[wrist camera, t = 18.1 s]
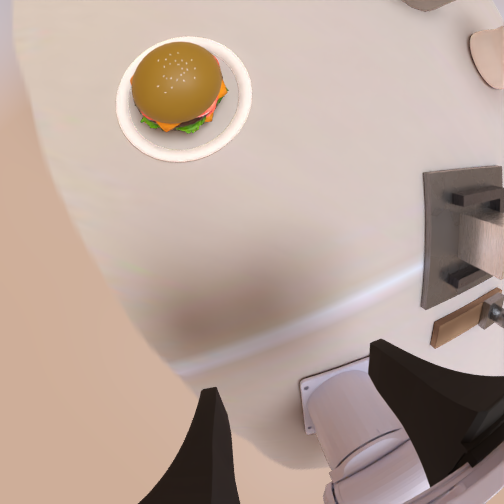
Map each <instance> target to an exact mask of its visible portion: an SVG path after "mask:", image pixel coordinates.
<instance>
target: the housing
mask: <svg viewBox="0 0 504 504" xmlns="http://www.w3.org/2000/svg"><path fill="white" fill-rule="evenodd" d="M458 258H459V259H461V260H463V261H465V262H467V263H469V264H471V265H473V266H475V267H477V268H479V269H481V270H483V271H485V272H487V273H489V274H491V275H493V276H495V277H496V278H498V279H500V280H502V279H503V278H504V213H502V212H499V211H496V210H492V209H489V208H485V207H483V208H479V209H475V210H471V211H467V212H463V213H460V232H459V249H458Z"/></svg>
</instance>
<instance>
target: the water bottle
mask: <svg viewBox="0 0 504 504" xmlns="http://www.w3.org/2000/svg"><path fill="white" fill-rule="evenodd" d="M470 50H471V54H472V58H473V60H474V63H475V65H476V67H477V69H478V71H479V73H480V74H481V76H482V77H483V78H484V80H485V81H486V82H487V83H488V84H489V85H490V86H492V87H493V88H496V89H504V26H501V27H499V28H497V29H491V30H483V31H479V32H476V33H474V34H473V35H472V36H471V39H470Z"/></svg>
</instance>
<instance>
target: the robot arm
mask: <svg viewBox="0 0 504 504" xmlns="http://www.w3.org/2000/svg"><path fill="white" fill-rule="evenodd" d="M306 386H307V387H306ZM300 390H301V398H302V407H303V416H304V425H305V432H306V434H307V435H310V434H313V433H316V436H317V438H318V440H319V443H320V445H321V447H322V450H323V452H324V454H325V457H326V459H327V461H328V464H329V466H330V468H331V470H332V471H331V472H329V474H330V477H331V479H332V482H330V483H329V484H327V485H326V488H325V491H324V495H323V499H324V504H485V503H487V502H488V501H489V500H490V499H491V498H492V497H493V496H494V495H495V494H497V493H498V492H499V491H500V490H501V489H502V488H503V487H504V376H480V375H473V374H467V373H462V372H457V371H453V370H450V369H447V368H443V367H440V366H438V365H435V364H432V363H430V362H427V361H425V360H423V359H421V358H418V357H416V356H414V355H412V354H410V353H408V352H406V351H404V350H402V349H400V348H398V347H396V346H394V345H392V344H391V343H389V342H387V341H385V340H383V339H379V340H377V341H374V342H372V343H370V354H369V357H367V358H364V359H362V360H359V361H356V362H354V363H351V364H348V365H345V366H343V367H340V368H337V369H334V370H331V371H328V372H325V373H322V374H319V375H316V376H312V377H309V378H306V379H303V380H302V381H301V382H300ZM138 504H240V501H239V497H238V492H237V487H236V482H235V476H234V464H233V451H232V438H231V430H230V425H229V420H228V415H227V412H226V410H225V407H224V405H223V402H222V400H221V397H220V395H219V392H218V390H217V387H213V388H208V389H203V390H202V391H201V394H200V398H199V402H198V406H197V409H196V412H195V415H194V418H193V420H192V423H191V426H190V428H189V431H188V433H187V435H186V438H185V440H184V442H183V444H182V446H181V448H180V450H179V452H178V454H177V455H176V457H175V459H174V461H173V462H172V464H171V465H170V467H169V468H168V470H167V471H166V473H165V474H164V475H163V477H162V478H161V479H160V481H159V482H158V483H157V484H156V485H155V487H154V488H153V489H152V490H151V491H150V493H149V494H148V495H147V496H146V497H145V498H143V499H142V500H141V501H140V502H139V503H138Z"/></svg>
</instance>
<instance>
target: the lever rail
mask: <svg viewBox="0 0 504 504" xmlns="http://www.w3.org/2000/svg"><path fill="white" fill-rule="evenodd" d="M498 292H499V293H502V290H501V289H499V288H495V289H494V290H492V291H490V292H489V293H487V294H485V295H484V296H482V297H480V298H478V299H477V300H475V301H473V302H471V303H470V304H468V305H466V306H464V307H462V308H460V309H459V310H457V311H455V312H453V313H451V314H449V315H447V316H445V317H443V318H441V319H439V320H437V321H435V322H434V328H433V333H432V338H431V343H430V345H432V346H433V347H434V348H435V349H436V348H438V347H440V346H441V345H443V344H445V343H447V342H449V341H450V340H452V339H454V338H456V337H457V336H459V335H461V334H462V333H464V332H466V331H467V330H469V329H470V328H472V327H474V326H475V325H477V324H478V323H479V321H480V317H481V312H482V308H483V303H484V301H485V300H486V299H488V298H490V297H491V296H493V295H494V294H496V293H498Z"/></svg>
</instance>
